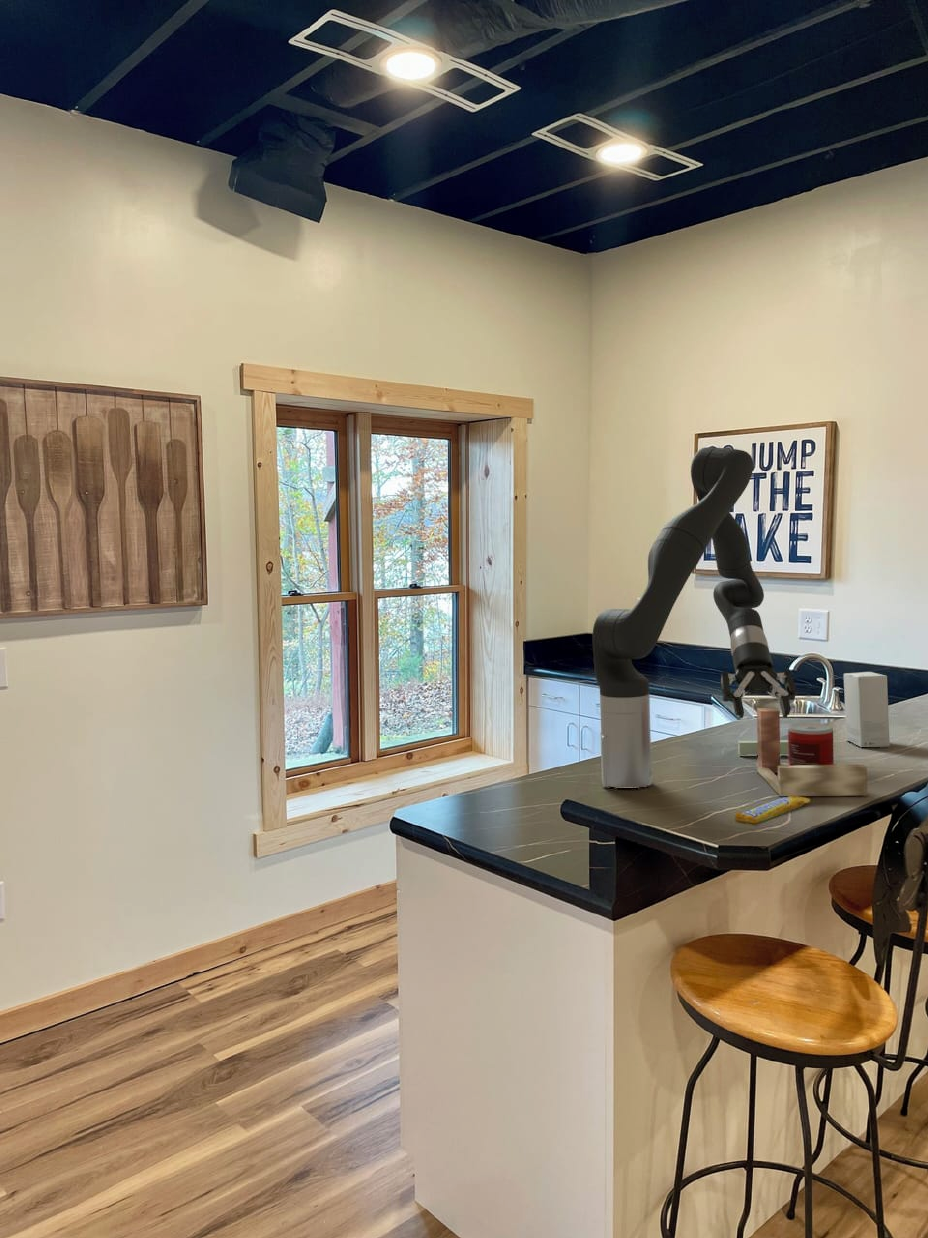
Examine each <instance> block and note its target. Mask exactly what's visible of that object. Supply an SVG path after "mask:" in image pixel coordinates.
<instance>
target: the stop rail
mask: <svg viewBox="0 0 928 1238" xmlns="http://www.w3.org/2000/svg"><path fill="white" fill-rule="evenodd" d="M738 754H739V755H747V754H758V740H737V755H738ZM780 754H789V752H788V739H782V740H781V739H780ZM739 755H738V756H739Z"/></svg>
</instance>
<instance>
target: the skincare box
mask: <svg viewBox="0 0 928 1238" xmlns="http://www.w3.org/2000/svg"><path fill="white" fill-rule="evenodd" d="M843 688H844V689H843V691H844V692H843V693H844V713H845V736H846V738H847V739H848V740H850V741H851V742H853V743H855V744H856V745H858V746H860V747H859V748H861V747H880V748H889V747H890V746H891V744H890V743H891V742H890V720H889V719H890V718H889V717H890V716H889V695H888V693H889V692H888V676H887V675H884V674H881V673H878V672H877V673H876V672H873V671H862V672H861V671H860V672H850V673H849V672H848V673H847V672H845V673H843ZM846 738H845V739H846ZM856 745H855V746H856ZM858 746H857V747H858Z"/></svg>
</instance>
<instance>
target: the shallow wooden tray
mask: <svg viewBox="0 0 928 1238" xmlns="http://www.w3.org/2000/svg"><path fill="white" fill-rule="evenodd" d="M780 711H781V710H779V709H778V708H776V707H765V708H764V707H763V708H762V707H761V708H759V707H757V708H756V724H757V725H756V726H757V727H756V731H757V733H756V734H757V740H756V741H758V757H757V763H756V764H755V770H756V771H757V772H758V774H759V775H760V776H761V777H762V778H763V779H764V780H765V781H766V782H767V783H768V785H770V786H771V788H772V789H773V790H774V791H775V792H776V794H778V796H780V797H788V796H789V795H790V796H799V797H810V796H811V797H813V796H814V797H821V796H822V797H824V796H828V797H829V796H830V797H831V796H837V797H838V796H839V797H840V796H868V766H867V765H866V764H837V763H834V765H800V766H789V762H786V763H785V762H783V763H782V762H781V756H780V740H781V726H780V725H781V722H780V721H781V717H780V716H781V715H780ZM775 773H777V775H776V774H775Z"/></svg>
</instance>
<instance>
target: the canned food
mask: <svg viewBox="0 0 928 1238" xmlns="http://www.w3.org/2000/svg"><path fill="white" fill-rule="evenodd" d="M833 729H834V727H833V726H832V725H828V724H826V723H817V722H798V723H792V724H789V725H788V728H787V735H788V737H787V740H788V752H789V756H788V763H789V766H800V765H834V764H835V762H834V730H833Z"/></svg>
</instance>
